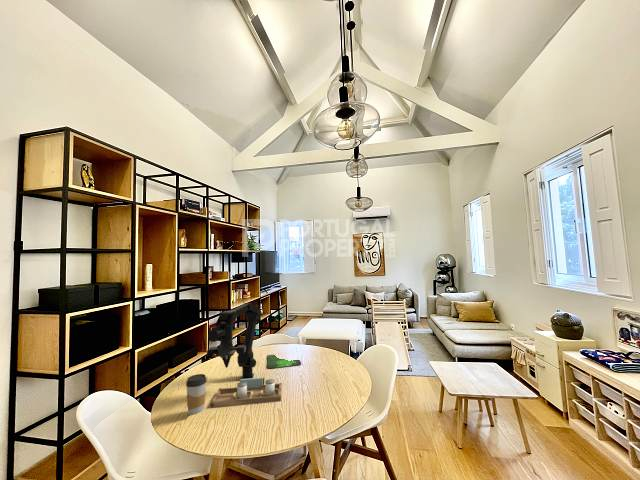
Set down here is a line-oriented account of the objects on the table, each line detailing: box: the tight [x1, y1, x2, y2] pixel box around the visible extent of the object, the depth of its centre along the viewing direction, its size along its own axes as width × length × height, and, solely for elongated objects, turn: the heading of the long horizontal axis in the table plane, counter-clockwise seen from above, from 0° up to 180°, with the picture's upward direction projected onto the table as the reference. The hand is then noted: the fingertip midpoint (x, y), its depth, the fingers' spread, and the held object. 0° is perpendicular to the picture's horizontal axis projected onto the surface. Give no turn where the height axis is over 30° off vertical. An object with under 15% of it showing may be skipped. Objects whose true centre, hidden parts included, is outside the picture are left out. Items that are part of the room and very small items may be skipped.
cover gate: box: [239, 377, 263, 389], centre depth 134 cm, size 2×11×4 cm, turn 97°
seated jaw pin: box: [237, 381, 247, 399], centre depth 124 cm, size 4×4×7 cm
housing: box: [210, 377, 283, 408], centre depth 126 cm, size 16×31×6 cm, turn 97°
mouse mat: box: [266, 354, 302, 370], centre depth 176 cm, size 27×22×1 cm
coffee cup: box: [185, 373, 207, 416], centre depth 115 cm, size 8×8×15 cm
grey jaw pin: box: [264, 378, 276, 397], centre depth 126 cm, size 4×4×7 cm
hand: (226, 367), depth 134 cm, fingers closed
